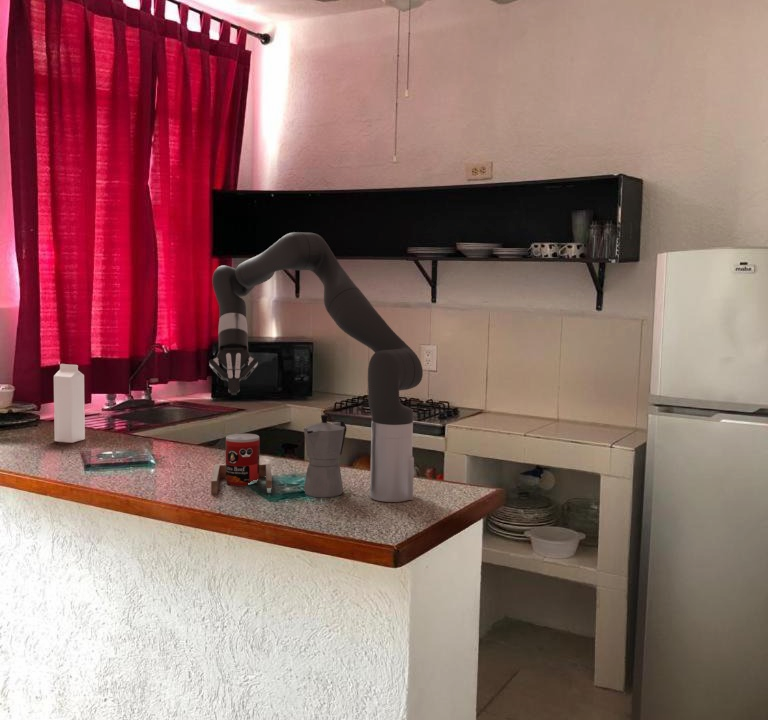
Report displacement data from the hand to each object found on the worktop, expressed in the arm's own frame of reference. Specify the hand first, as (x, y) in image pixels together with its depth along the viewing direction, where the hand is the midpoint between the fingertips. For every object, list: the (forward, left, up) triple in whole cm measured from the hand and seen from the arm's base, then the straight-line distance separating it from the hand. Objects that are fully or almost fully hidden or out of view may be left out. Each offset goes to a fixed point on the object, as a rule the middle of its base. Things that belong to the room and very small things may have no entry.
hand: (234, 393), depth 220 cm
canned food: (-2, +17, -19) cm, 26 cm away
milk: (+48, -36, -19) cm, 62 cm away
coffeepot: (-21, +27, -19) cm, 40 cm away
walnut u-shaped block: (-2, +20, -19) cm, 28 cm away
